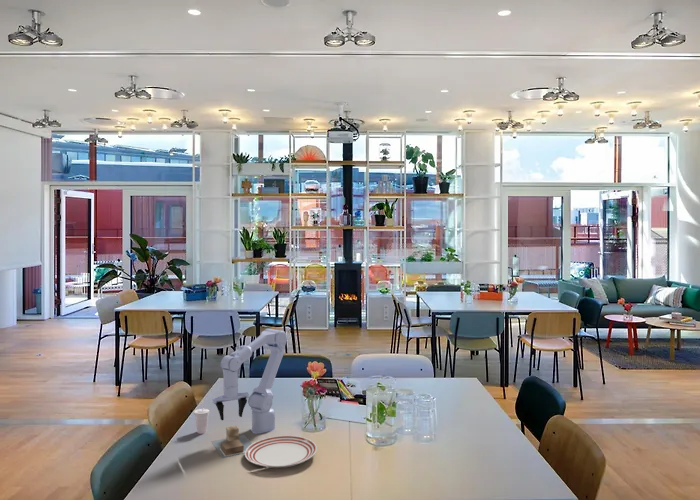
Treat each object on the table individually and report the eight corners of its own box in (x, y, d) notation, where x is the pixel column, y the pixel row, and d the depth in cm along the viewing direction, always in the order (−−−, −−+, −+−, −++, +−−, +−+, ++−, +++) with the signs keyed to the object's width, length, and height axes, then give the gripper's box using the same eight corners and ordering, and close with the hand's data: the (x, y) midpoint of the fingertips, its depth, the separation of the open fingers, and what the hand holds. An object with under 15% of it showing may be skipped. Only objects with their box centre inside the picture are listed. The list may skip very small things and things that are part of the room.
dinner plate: (257, 480, 184) (257, 470, 184) (236, 450, 208) (236, 442, 208) (329, 464, 197) (329, 455, 197) (301, 438, 221) (301, 430, 221)
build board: (244, 436, 223) (244, 434, 223) (258, 451, 208) (258, 450, 208) (211, 442, 217) (211, 441, 217) (223, 459, 201) (223, 457, 201)
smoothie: (205, 436, 223) (205, 403, 222) (191, 435, 224) (191, 402, 224) (212, 431, 229) (211, 399, 229) (198, 430, 231) (198, 398, 230)
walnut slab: (238, 445, 212) (238, 439, 212) (243, 451, 206) (243, 445, 206) (221, 449, 209) (220, 442, 209) (225, 455, 203) (225, 449, 203)
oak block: (236, 437, 221) (235, 425, 220) (238, 440, 217) (238, 428, 217) (226, 439, 219) (226, 427, 218) (229, 442, 215) (229, 430, 215)
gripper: (244, 380, 224) (245, 411, 225) (210, 385, 217) (211, 418, 217) (250, 384, 218) (250, 416, 218) (215, 389, 211) (215, 423, 211)
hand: (231, 417), depth 218 cm, fingers open, 7 cm apart
